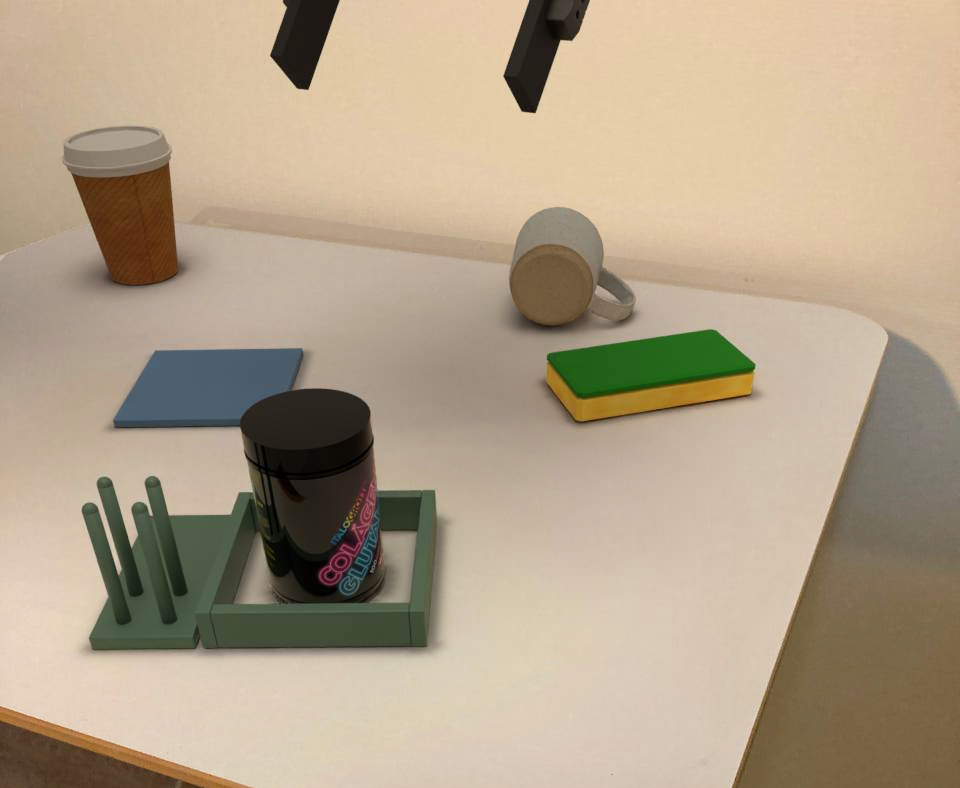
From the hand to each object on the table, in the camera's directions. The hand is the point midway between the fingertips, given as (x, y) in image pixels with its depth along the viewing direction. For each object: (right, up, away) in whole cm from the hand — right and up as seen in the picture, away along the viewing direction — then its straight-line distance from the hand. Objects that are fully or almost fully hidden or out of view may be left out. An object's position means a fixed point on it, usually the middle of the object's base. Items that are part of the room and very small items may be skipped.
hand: (398, 84), depth 52 cm
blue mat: (-16, -9, +28) cm, 33 cm away
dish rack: (-8, -24, +8) cm, 27 cm away
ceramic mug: (+12, 0, +38) cm, 40 cm away
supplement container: (-5, -25, +8) cm, 26 cm away
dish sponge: (+17, -9, +26) cm, 32 cm away
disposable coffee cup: (-28, +7, +47) cm, 55 cm away
